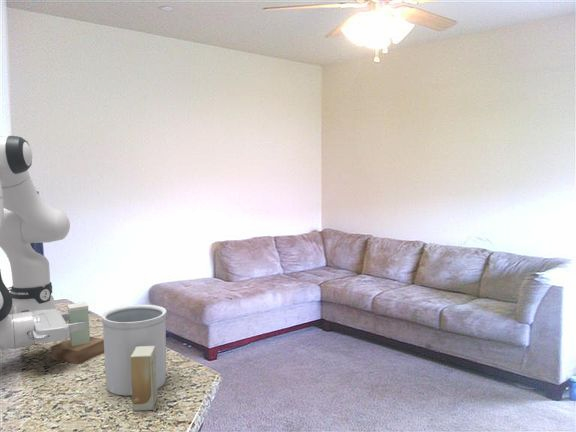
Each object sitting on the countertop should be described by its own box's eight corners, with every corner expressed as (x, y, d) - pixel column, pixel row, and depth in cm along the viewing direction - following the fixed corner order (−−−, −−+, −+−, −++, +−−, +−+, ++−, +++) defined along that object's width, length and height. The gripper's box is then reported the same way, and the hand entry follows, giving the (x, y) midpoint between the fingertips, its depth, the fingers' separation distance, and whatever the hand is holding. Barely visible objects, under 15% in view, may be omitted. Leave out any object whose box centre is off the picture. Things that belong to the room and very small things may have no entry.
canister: (71, 346, 137) (69, 308, 136) (69, 341, 141) (67, 304, 140) (90, 342, 140) (88, 305, 139) (87, 338, 144) (85, 301, 143)
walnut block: (52, 360, 138) (51, 346, 138) (80, 348, 147) (79, 335, 147) (79, 365, 134) (78, 351, 134) (106, 352, 143) (106, 339, 143)
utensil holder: (180, 375, 126) (178, 306, 124) (145, 401, 112) (142, 324, 110) (130, 368, 130) (127, 302, 129) (91, 392, 116) (87, 318, 115)
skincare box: (138, 398, 113) (136, 345, 112) (158, 397, 114) (155, 344, 112) (132, 412, 107) (129, 356, 106) (152, 410, 107) (150, 355, 106)
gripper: (28, 327, 124) (88, 318, 131) (21, 308, 141) (74, 301, 148) (30, 352, 124) (89, 341, 132) (23, 330, 142) (75, 322, 149)
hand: (81, 320), depth 140 cm, fingers open, 8 cm apart
